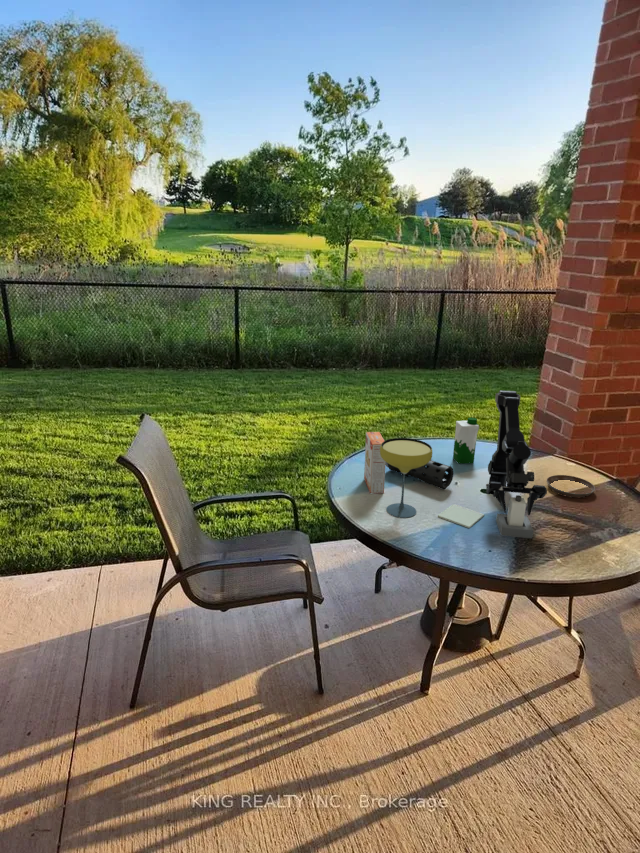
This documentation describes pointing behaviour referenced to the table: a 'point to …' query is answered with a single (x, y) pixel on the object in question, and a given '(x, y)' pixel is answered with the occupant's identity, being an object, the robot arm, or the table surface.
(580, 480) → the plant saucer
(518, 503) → the plug
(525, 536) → the socket collar
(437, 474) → the muzzle brake
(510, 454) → the robot arm
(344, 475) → the table surface
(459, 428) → the milk carton
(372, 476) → the cracker box
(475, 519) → the rubber mat
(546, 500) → the table surface
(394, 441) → the cocktail glass
